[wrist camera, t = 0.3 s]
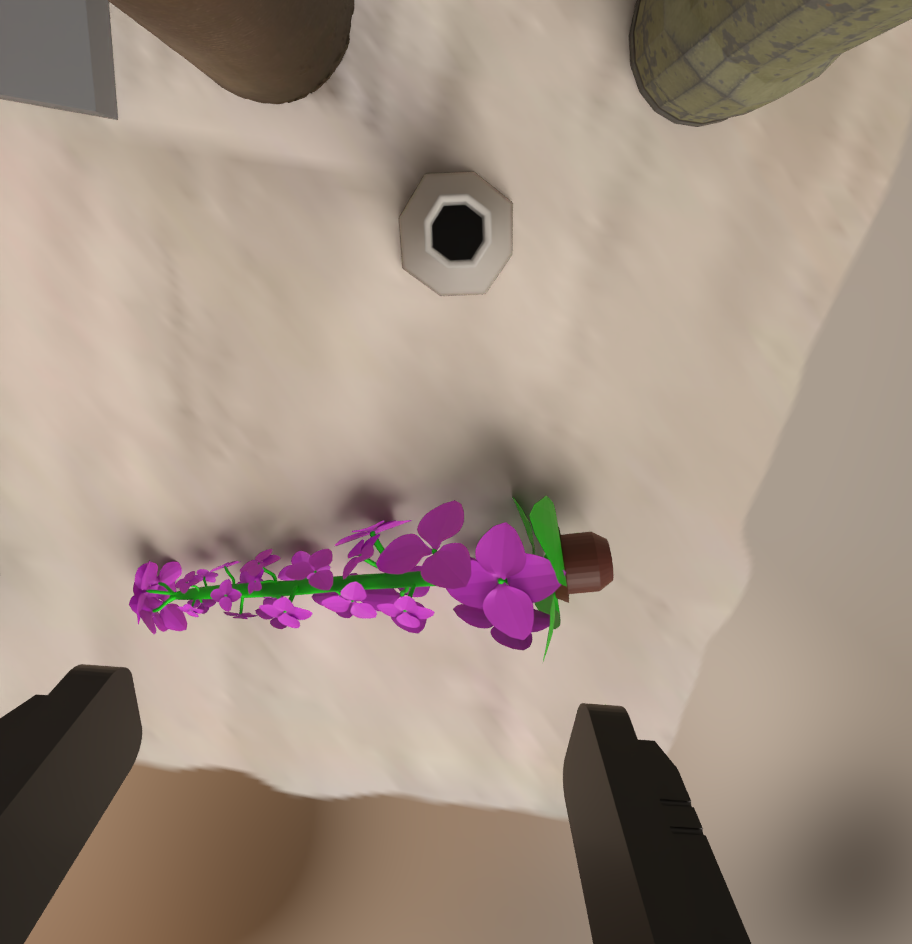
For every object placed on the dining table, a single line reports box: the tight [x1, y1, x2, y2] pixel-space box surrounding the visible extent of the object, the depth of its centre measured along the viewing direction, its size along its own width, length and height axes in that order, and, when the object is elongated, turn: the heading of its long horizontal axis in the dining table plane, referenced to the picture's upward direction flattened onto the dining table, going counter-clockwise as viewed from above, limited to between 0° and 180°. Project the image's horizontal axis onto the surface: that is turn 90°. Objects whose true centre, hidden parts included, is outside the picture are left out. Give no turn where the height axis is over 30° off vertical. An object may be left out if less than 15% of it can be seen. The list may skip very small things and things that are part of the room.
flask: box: [399, 172, 513, 296], centre depth 28 cm, size 7×7×10 cm
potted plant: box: [129, 496, 613, 664], centre depth 38 cm, size 12×16×35 cm
